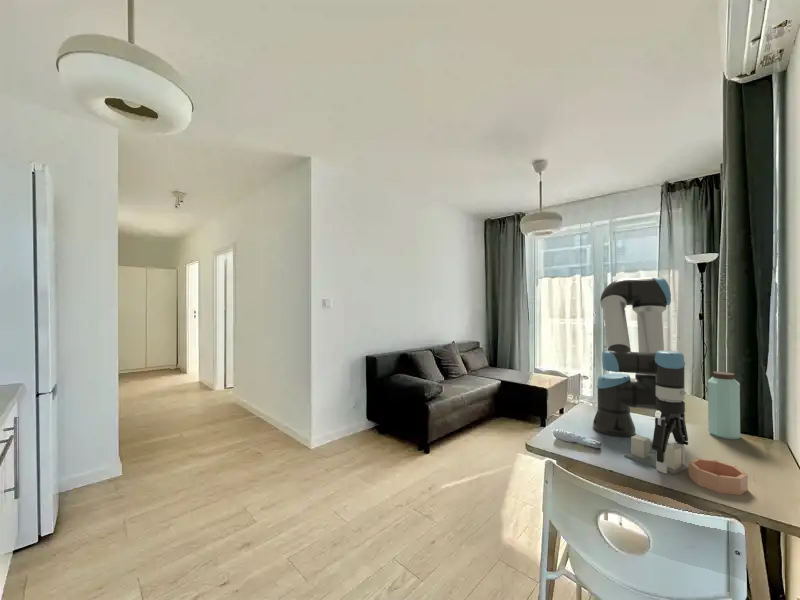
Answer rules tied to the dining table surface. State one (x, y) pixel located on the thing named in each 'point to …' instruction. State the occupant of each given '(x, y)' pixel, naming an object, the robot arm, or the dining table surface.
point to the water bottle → (724, 406)
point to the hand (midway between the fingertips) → (670, 467)
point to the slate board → (652, 462)
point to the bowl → (718, 476)
